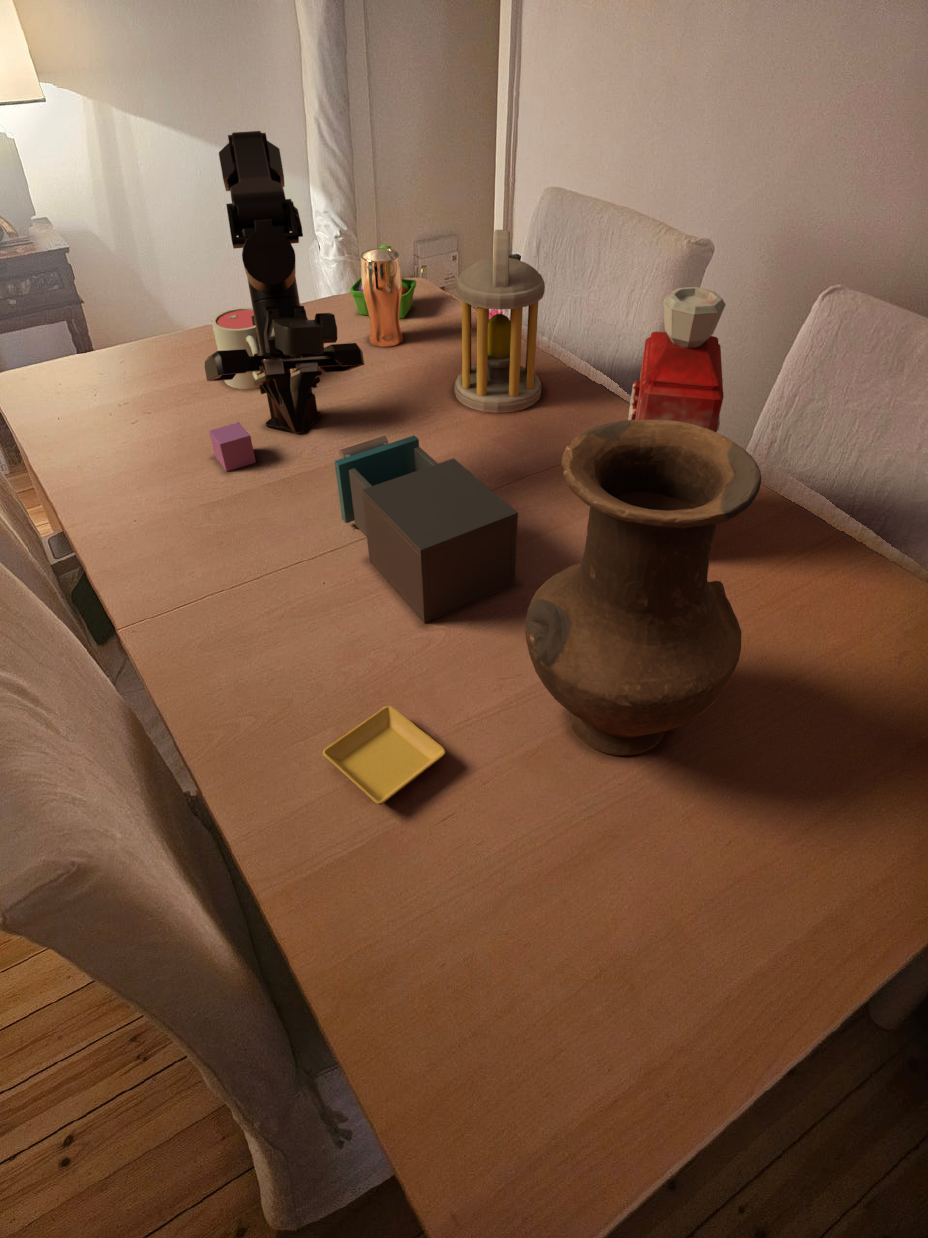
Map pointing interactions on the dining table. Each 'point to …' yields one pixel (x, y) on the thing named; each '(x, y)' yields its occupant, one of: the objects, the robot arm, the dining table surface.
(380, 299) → the beer glass
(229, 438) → the pink cube
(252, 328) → the mug
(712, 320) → the bottle
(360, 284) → the fruit basket
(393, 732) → the yellow square dish
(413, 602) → the dark grey box-shaped block
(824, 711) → the dining table surface
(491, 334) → the lantern
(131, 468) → the dining table surface
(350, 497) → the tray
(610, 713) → the vase
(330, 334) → the robot arm
